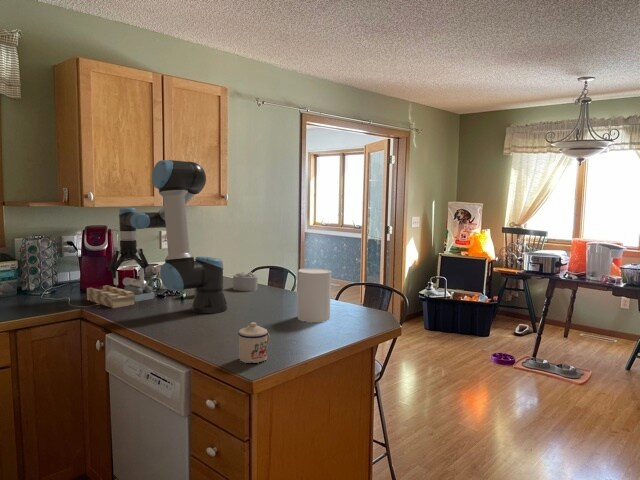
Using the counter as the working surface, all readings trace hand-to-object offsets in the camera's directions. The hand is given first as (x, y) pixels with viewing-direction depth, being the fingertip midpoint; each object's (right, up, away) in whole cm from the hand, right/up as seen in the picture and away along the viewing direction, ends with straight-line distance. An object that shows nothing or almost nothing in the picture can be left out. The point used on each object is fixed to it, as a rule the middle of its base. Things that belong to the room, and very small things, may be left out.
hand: (129, 283), depth 237 cm
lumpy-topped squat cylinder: (+54, -6, +23) cm, 59 cm away
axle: (+4, -2, -3) cm, 6 cm away
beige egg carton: (-3, -8, -13) cm, 16 cm away
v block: (+6, -7, -4) cm, 10 cm away
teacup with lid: (+73, -16, -85) cm, 113 cm away
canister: (+91, -12, -35) cm, 98 cm away
